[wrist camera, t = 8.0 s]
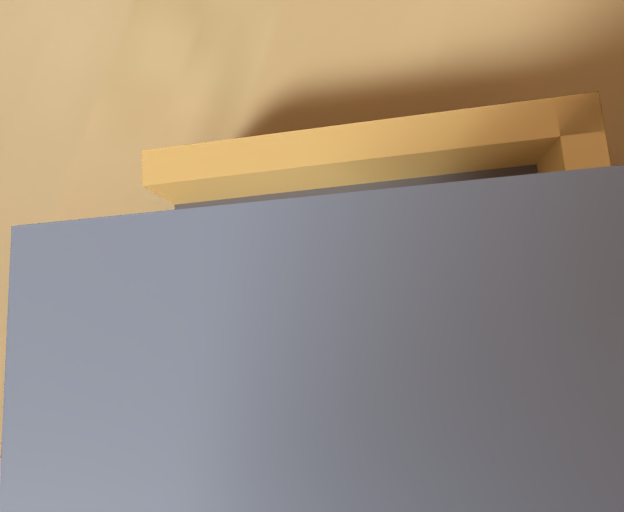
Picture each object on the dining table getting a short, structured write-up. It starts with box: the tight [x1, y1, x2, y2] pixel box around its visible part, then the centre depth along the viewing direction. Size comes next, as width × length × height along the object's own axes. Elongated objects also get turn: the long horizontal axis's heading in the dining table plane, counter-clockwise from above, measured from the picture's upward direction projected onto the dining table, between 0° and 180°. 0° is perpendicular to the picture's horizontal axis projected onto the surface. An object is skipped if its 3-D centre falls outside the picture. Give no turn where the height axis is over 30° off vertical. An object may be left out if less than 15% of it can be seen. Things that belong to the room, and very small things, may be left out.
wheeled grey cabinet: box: [0, 165, 624, 512], centre depth 9 cm, size 8×7×13 cm
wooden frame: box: [142, 92, 611, 210], centre depth 16 cm, size 18×14×4 cm
